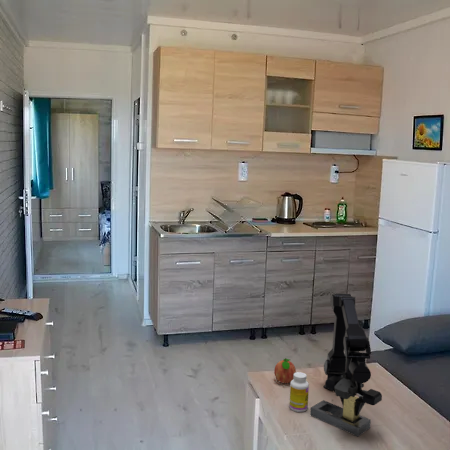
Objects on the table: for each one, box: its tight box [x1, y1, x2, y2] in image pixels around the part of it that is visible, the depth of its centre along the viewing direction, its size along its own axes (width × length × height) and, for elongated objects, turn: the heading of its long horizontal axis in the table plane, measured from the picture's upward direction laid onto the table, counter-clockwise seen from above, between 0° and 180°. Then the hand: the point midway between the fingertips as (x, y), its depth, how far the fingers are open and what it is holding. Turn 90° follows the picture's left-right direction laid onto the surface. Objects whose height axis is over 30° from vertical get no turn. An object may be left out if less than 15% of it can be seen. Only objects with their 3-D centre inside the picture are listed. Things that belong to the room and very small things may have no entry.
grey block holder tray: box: [309, 399, 372, 437], centre depth 183 cm, size 8×19×3 cm, turn 46°
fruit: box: [273, 357, 297, 384], centre depth 212 cm, size 9×10×10 cm
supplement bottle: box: [288, 371, 310, 413], centre depth 190 cm, size 7×7×13 cm
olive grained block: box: [342, 395, 361, 423], centre depth 179 cm, size 4×4×7 cm
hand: (351, 413), depth 179 cm, fingers closed on olive grained block, 4 cm apart
